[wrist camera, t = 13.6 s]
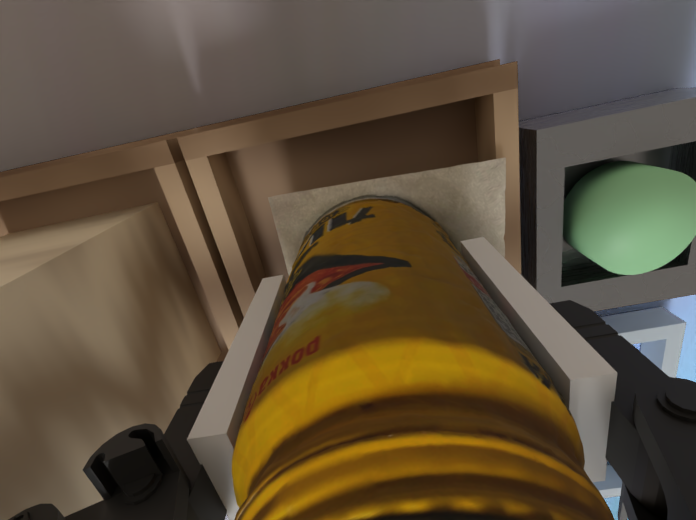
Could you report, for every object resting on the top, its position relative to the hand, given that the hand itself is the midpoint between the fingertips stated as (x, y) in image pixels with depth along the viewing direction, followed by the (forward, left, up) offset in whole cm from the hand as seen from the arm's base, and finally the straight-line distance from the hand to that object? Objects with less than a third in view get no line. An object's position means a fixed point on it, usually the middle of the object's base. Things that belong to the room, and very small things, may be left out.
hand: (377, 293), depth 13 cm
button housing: (0, -10, -5) cm, 11 cm away
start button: (0, -10, -3) cm, 11 cm away
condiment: (0, -1, -2) cm, 2 cm away
